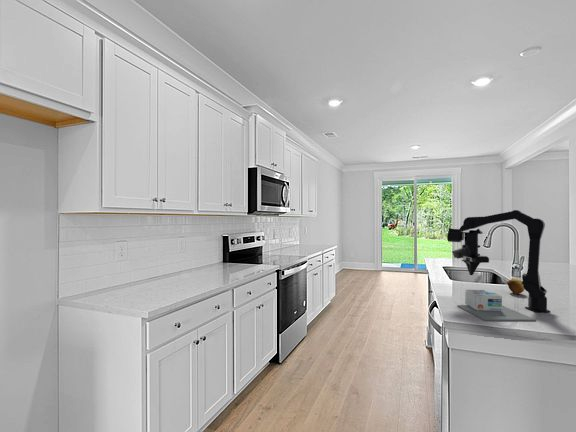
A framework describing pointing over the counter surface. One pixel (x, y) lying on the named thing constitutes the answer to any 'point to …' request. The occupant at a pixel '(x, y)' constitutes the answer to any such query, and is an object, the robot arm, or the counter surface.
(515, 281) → the fruit
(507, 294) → the counter surface
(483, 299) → the light bulb box
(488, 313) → the slate mat
